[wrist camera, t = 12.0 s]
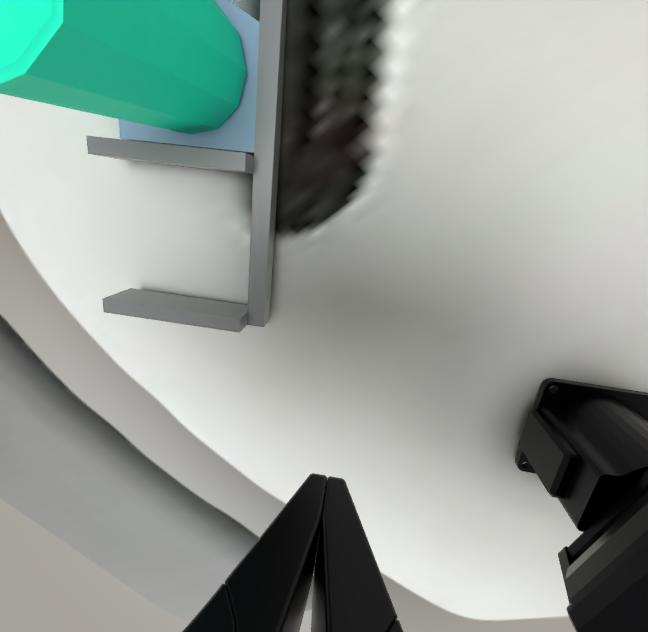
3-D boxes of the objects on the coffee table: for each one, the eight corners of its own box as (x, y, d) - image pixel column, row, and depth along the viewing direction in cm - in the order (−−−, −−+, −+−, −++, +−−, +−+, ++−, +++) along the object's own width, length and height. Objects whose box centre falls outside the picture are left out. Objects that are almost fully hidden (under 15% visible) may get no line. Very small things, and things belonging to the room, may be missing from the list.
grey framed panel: (291, -35, 16) (278, -77, 14) (269, 320, 22) (256, 335, 19) (107, -47, 17) (64, -88, 14) (131, 300, 22) (103, 312, 20)
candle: (267, 99, 17) (62, -35, 6) (173, 155, 19) (-118, 125, 8) (207, -41, 16) (-217, -559, 5) (110, 34, 17) (-367, -213, 6)
